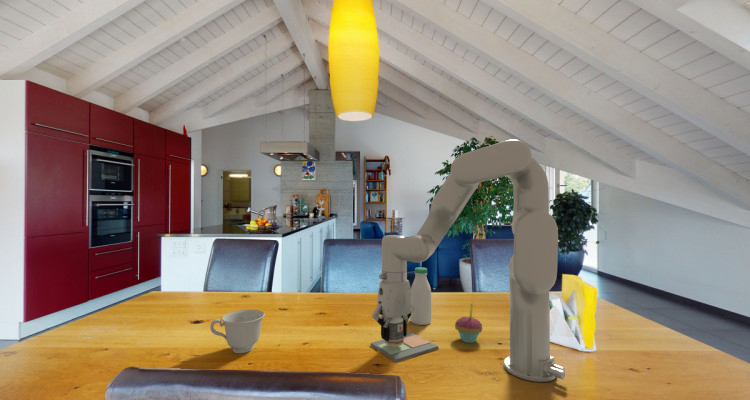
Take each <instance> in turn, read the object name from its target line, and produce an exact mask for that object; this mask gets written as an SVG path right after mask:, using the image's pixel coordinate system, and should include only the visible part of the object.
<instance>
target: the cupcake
mask: <svg viewBox="0 0 750 400" xmlns="http://www.w3.org/2000/svg"><path fill="white" fill-rule="evenodd" d="M473 305H474V304H473V303H470V308H469V310H470V311H469V316H462V317H460V318H458V319H457V320H456V321H455V325H454V326H455V327H454V328H455V330H456V331H458V334H459V337H460V340H461V341H463V343H469V344H472V343H473V344H474V343H476V342H477V338H478V336H479V334H480V333H482V331H483V324H482V323H481V321H479V319H476V318H475V317H473Z"/></svg>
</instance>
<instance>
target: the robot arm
mask: <svg viewBox="0 0 750 400" xmlns="http://www.w3.org/2000/svg"><path fill="white" fill-rule="evenodd" d="M502 177H506V178H508V179H509V180H510V181H511V183H512V188H513V210H512V211H513V212H512V213H513V215H512V222H511V231H512V232H511V233H512V234H513V255H511V256H512V257H511V258H510V260H509V265H508V277H509V278H508V281H509V283H508V284H509V356H507V357H505V358H504V359H503V366H504V369H505V370H506V371H507V372H508V373H510V374H511V375H513V376H515V377H516V378H519V379H523V380H526V381H530V382H535V383H537V382H538V383H545V382H546V383H547V382H551V381H553V380H555V379H556V378H557V379H560V380H565V377H566V373H565V371H566V370H565V367H564V366H561V365H559V364H558V365H557V364H556V363H555V357H554V356H551V349H550V348H551V345H550V344H551V342H550V340H551V339H550V337H551V333H550V332H551V330H550V327H551V325H550V324H551V323H550V321H551V320H550V313H551V312H550V311H551V307H550V305H551V304H550V290H551V289H552V288H553V287H554V285H555V284H556V281H557V275H558V258H559V257H558V256H559V255H558V254H559V230H558V225H557V222H556V220H555V219H554V217H553V216H552V215H551V214H550V193H549V192H550V191H549V189H550V188H549V180H548V176H547V174H546V171H545V170H544V168H543V167H542V166H541V164H540V163H539V162H538V161H537V160H536V159H535V158H534V157H532V151H531V148H530V147H529V145H528V144H527V143H525V142H524V141H522V140H519V139H508V140H503V141H500V142H497V143H494V144H491V145H487V146H484V147H481V148H478V149H474V150H471V151H467V152H465V153H462V154H460V155H458V156H456V157H455V159H454V160H453V161H452V162H451V165H450V172H449V173H448V176H447V177H446V179H445V180H444V182H443V183H442V185H441V186H440V188H439V189H438V192H437V193H436V195H435V196H434V197H433V199H432V201H431V204H430V207H429V208H430V209H429V212H428V215H427V217H426V219H425V221H424V222H423V224H422V225H421V227H420V228H419V231H417V233H416V234H415V235H414V236H407V237H406V236H404V235H401V234H400V235H399V234H387V235H384V236H383V237H382V240H381V274H378V279H379V280H381V281H380V282H379V286H378V290H377V291H378V293H377V304H376V308H375V310H374V311H373V313H372V314H371V317H372V318H373V319H374V321H376V322H377V323H378V324H379V326H380V336H381V340H383V339H384V340H386V341H389V327H387V326H388V323H389V319H390V318H394V317H399V316H401V317H402V318H403V333H404V334H403V335H404V336H407V333H408V332H407V331H408V327H407V326H408V323H409V321H410V316H411V313H412V312H413V311H414V310H415V307H414V306H413V305H412V297H411V284H410V280H409V279H407V278H408V273H407V272H408V268H407V267H408V264H407V263H408V262H412V263H422V262H425V261H427V260H428V259H429V258H430V257H431V256H432V255H433V254H434V253H435V251H436V250H437V248H438V246H439V245H440V243H441V242H442V240H443V239H444V237H445V236H446V234H447V233H448V231H449V229H450V228H451V227H452V225H453V224H454V223H455V222H456V221H457V218H458V217H459V216H460V215H461V212H462V211H463V210H464V208H465V206H466V205H467V203H468V202H469V201H470V198H471V197H472V195H473V194H474V193H475V191H476V190H477V188H478V187H479V185H480V183H483V182H488V181H491V180H495V179H498V178H502Z"/></svg>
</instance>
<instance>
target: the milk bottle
mask: <svg viewBox="0 0 750 400" xmlns="http://www.w3.org/2000/svg"><path fill="white" fill-rule="evenodd" d="M414 275H415V276H414V280H413V282H412V284H411V286H410V288H411V297H412V305H413V306H414V307H415V310H414V311H413V312H412V313H411V316H410V318H409V321H410V322H411V323H412V324H414V325H417V326H427V325H430V324H431V323H432V289H431V285H430V283H429V281H428V278H427V275H428V268H427V267H424V266H423V267H419V266H418V267H415V268H414Z"/></svg>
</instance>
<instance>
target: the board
mask: <svg viewBox="0 0 750 400" xmlns="http://www.w3.org/2000/svg"><path fill="white" fill-rule="evenodd" d="M370 346H371V347H372V348H374V349H375V350H377V351H379V352H380V353H382V354H383V355H384V356H386V357H387V358H389V359H390V360H392V361H393V362H395V363H398V362H401V361H404V360H407V359H411V358H414V357H416V356H419V355H423V354H427V353H429V352H432V351H436V350H438V349H439V345H437V344H435V343H433V342H431V341H429V340H427V339H426V338H423V337H421V336H420V335H417V334H415V333H413V332H407V336H404V342H403V344H402V345H400V346H396V347H393V346H388V345H387V344H386V343H385V340H384V339H380V340H376V341H373V342H370Z"/></svg>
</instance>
